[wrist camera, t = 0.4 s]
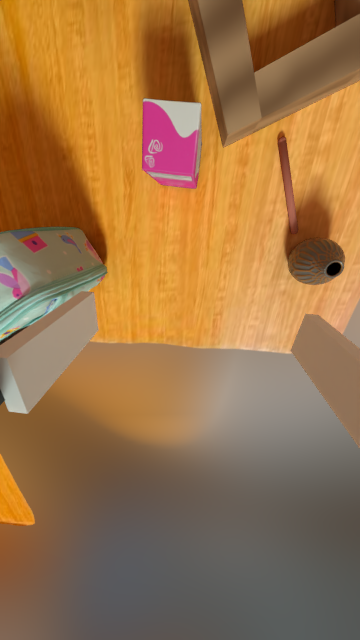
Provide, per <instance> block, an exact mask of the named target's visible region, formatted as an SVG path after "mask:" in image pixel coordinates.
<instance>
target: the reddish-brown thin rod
mask: <svg viewBox="0 0 360 640" xmlns="http://www.w3.org/2000/svg"><path fill="white" fill-rule="evenodd" d="M278 147H279V154H280V161H281V167H282V174H283V181H284V188H285V195H286V201H287V208H288V215H289V222H290V228H291V233H292V234H296V233H297V232H298V225H297V218H296V210H295V203H294V195H293V188H292V180H291V173H290V165H289V158H288V150H287V143H286V138H285V137H281V138H280V139H279V141H278Z"/></svg>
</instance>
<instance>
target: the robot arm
mask: <svg viewBox="0 0 360 640" xmlns="http://www.w3.org/2000/svg"><path fill="white" fill-rule="evenodd" d="M97 331H98V324H97V315H96V307H95V298H94V292H86V291H81V292H80V293H78V294H77V295H75V296H74V297H72V298H71V299H69V300H68V301H66V302H65V303H63V304H62V305H60V306H59V307H57V308H56V309H54V310H53V311H51V312H50V313H48V314H47V315H45V316H43V317H42V318H40V319H39V320H37V321H36V322H34V323H33V324H31V325H29V326H26V327H24V328H21V329H19V330H17V331H15V332H14V333H12V334H11V335H9V336H8V337H6V338H4V339H3V340H1V341H0V405H1V404H2V403H3V402H4V401H5V403H6V405H7V408H8V410H9V411H10V412H18V413H27V414H28V413H29V412H30V410H31V409H32V408H33V407H34V406H35V405H36V403H37V402H38V401H39V400H40V399H41V397H42V396H43V395H44V394H45V393H46V391H47V390H48V389H49V388H50V387H51V385H52V384H53V383H54V382H55V381H56V380H57V379H58V377H59V376H60V375H61V374H62V373H63V371H64V370H65V369H66V368H67V367H68V366H69V364H70V363H71V362H72V361H73V360H74V358H75V357H76V356H77V355H78V354H79V353H80V351H81V350H82V349H83V348H84V346H85V345H86V344H87V343H88V342H89V341H90V340H91V338H92V337H93V336H94V335H95V334H96V332H97ZM291 352H292V353H293V355H294V356H295V358H296V359H297V360H298V362H299V363H300V364H301V366H302V367H303V369H304V370H305V372H306V373H307V375H308V376H309V377H310V379H311V380H312V382H313V383H314V384H315V386H316V387H317V389H318V390H319V392H320V393H321V394H322V396H323V397H324V398H325V400H326V401H327V403H328V404H329V406H330V407H331V409H332V410H333V411H334V413H335V414H336V416H337V417H338V418H339V420H340V421H341V423H342V424H343V425H344V427H345V428H346V430H347V431H348V432H349V434H350V435H351V437H352V438H353V440H354V441H355V443H356V444H357V445H358V447H359V448H360V349H359V348H358V347H357V346H356V345H355V344H353V343H352V342H351V341H349V340H348V339H347V338H346V337H344V336H343V335H342V334H341V333H340V332H339V331H337V330H336V329H335V328H334V327H332V326H331V325H330V324H329V323H327V322H326V321H325V320H324V319H322V318H321V317H320V316H319V315H313V314H305V316H304V319H303V321H302V324H301V326H300V329H299V331H298V334H297V336H296V339H295V341H294V344H293V346H292V348H291Z"/></svg>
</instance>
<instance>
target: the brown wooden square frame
mask: <svg viewBox="0 0 360 640" xmlns="http://www.w3.org/2000/svg"><path fill="white" fill-rule="evenodd" d="M188 2H189V6H190V10H191V14H192V18H193V23H194V27H195V31H196V35H197V39H198V44H199V48H200V52H201V56H202V61H203V65H204V69H205V73H206V77H207V82H208V86H209V90H210V94H211V98H212V103H213V107H214V111H215V115H216V120H217V124H218V128H219V132H220V136H221V141H222V145H223V148H224V147H226V146H228V145H230V144H232V143H234V142H236V141H238V140H240V139H242V138H244V137H246V136H248V135H250V134H252V133H254V132H256V131H258V130H260V129H262V128H264V127H266V126H268V125H270V124H272V123H274V122H276V121H278V120H280V119H282V118H284V117H286V116H289V115H291V114H293V113H295V112H297V111H299V110H301V109H303V108H305V107H307V106H309V105H311V104H313V103H315V102H317V101H319V100H321V99H323V98H325V97H327V96H329V95H331V94H333V93H335V92H337V91H339V90H341V89H343V88H345V87H347V86H349V85H351V84H353V83H355V82H357V81H359V80H360V0H335V17H336V27H335V28H333V29H331V30H330V31H328V32H326V33H324V34H322V35H321V36H319V37H317V38H315V39H314V40H312V41H310V42H308V43H306V44H305V45H303V46H301V47H299V48H297V49H296V50H294V51H292V52H290V53H288V54H287V55H285V56H283V57H281V58H279V59H278V60H276V61H274V62H272V63H270V64H269V65H267V66H265V67H263V68H261V69H260V70H258V71H256V72H254V69H253V63H252V57H251V51H250V45H249V39H248V33H247V27H246V21H245V15H244V9H243V3H242V0H188Z"/></svg>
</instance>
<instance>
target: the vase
mask: <svg viewBox="0 0 360 640" xmlns="http://www.w3.org/2000/svg"><path fill="white" fill-rule="evenodd" d="M344 262H345V255H344V252H343V250H342V248H341V247H340V246H339V245H338V244H337V243H335V242H334V241H332V240H330V239H326V238H312V239H308V240H306V241H303V242H302V243H300V244H299V245H297V246H296V247H295V248H294V249H293V251H292V252H291V254H290V256H289V259H288V268H289V271H290V273H291V275H292V276H293V277H294V278H295V279H296V280H298V281H299V282H302V283H304V284H309V285H319V284H324V283H326V282H329V281H331V280H332V279H334V278H335V277H337V276H338V275H340V274H341V273H342V271H343V269H344Z"/></svg>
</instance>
